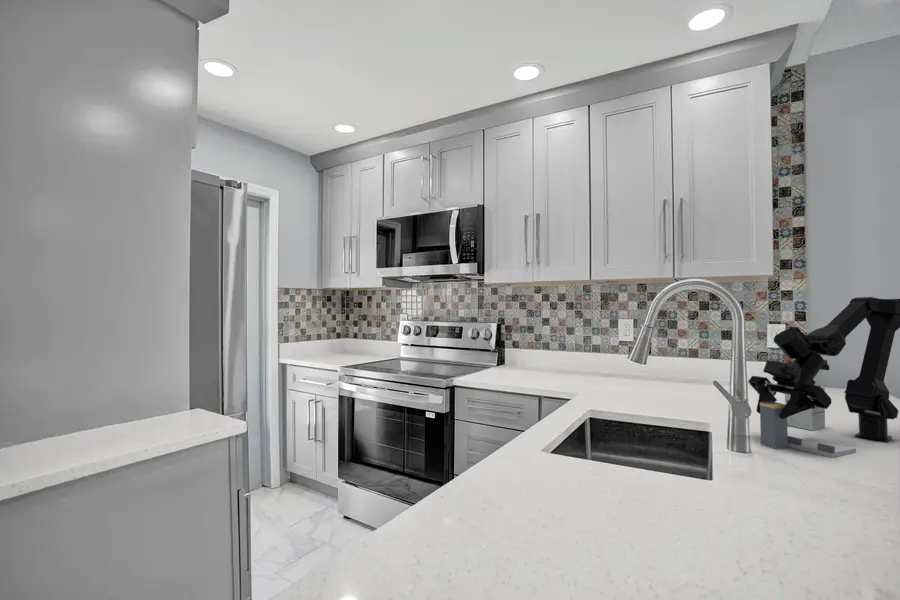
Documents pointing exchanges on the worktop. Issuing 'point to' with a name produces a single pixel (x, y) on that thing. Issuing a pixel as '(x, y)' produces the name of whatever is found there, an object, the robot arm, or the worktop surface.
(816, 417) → the supplement box
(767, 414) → the grey block
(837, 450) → the pad
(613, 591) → the worktop surface
